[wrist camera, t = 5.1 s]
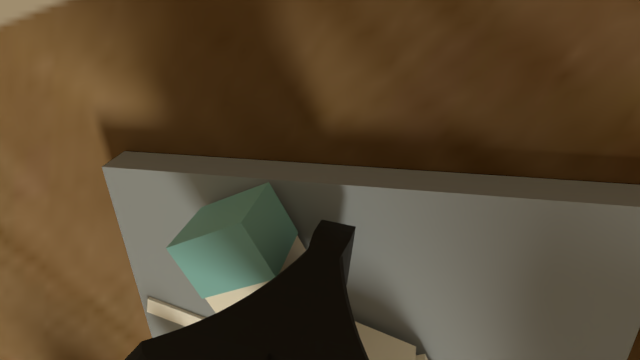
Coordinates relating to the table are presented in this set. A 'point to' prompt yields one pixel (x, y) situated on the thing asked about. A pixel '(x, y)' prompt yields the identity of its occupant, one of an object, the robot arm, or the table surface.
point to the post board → (417, 251)
